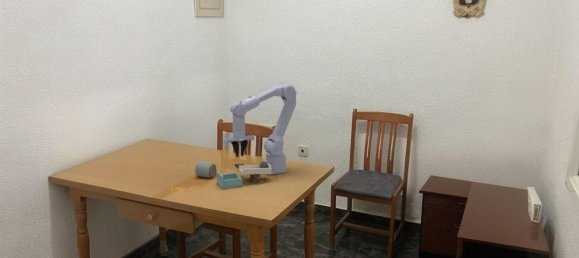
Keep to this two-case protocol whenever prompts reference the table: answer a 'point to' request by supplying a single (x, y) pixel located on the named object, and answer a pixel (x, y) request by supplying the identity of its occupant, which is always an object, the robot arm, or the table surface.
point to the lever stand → (254, 179)
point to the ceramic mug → (205, 169)
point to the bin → (229, 180)
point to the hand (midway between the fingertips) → (239, 156)
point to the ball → (263, 164)
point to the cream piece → (253, 169)
